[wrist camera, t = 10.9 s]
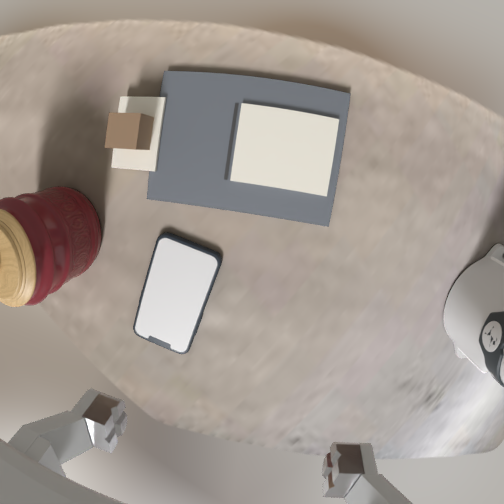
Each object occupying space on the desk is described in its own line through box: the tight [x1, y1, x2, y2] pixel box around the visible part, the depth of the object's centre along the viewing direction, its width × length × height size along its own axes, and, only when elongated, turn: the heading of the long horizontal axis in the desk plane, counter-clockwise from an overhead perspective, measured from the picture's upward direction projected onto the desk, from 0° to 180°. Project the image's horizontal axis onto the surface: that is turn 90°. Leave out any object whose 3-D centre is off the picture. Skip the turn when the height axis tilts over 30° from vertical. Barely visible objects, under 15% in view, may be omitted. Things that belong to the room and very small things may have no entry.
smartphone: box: [133, 232, 222, 354], centre depth 42 cm, size 9×2×16 cm
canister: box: [0, 186, 101, 307], centre depth 32 cm, size 13×13×18 cm
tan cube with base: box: [105, 97, 166, 172], centre depth 33 cm, size 6×9×4 cm, turn 172°
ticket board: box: [147, 71, 350, 227], centre depth 35 cm, size 22×16×2 cm
